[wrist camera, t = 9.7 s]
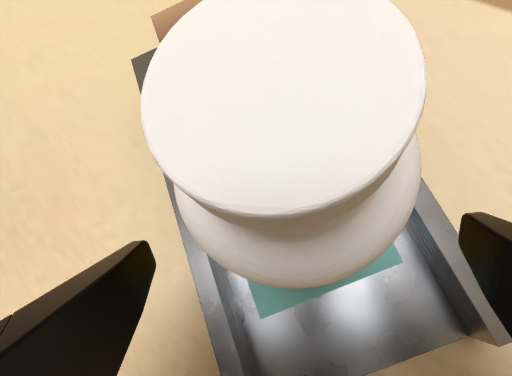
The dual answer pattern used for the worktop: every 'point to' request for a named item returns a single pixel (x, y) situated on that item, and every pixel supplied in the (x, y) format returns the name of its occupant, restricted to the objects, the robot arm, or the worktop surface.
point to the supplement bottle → (289, 132)
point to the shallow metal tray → (344, 303)
